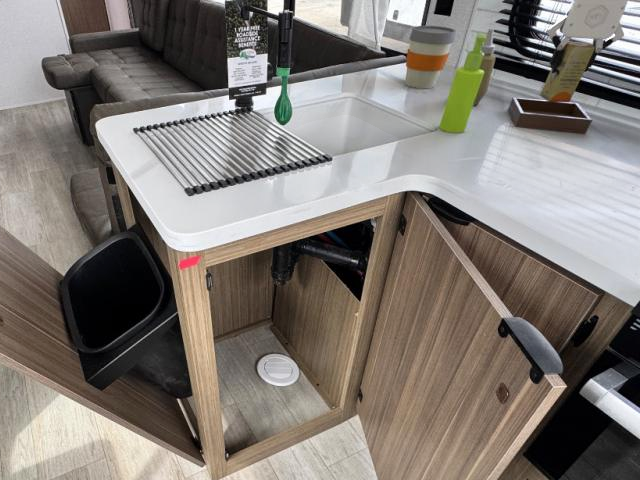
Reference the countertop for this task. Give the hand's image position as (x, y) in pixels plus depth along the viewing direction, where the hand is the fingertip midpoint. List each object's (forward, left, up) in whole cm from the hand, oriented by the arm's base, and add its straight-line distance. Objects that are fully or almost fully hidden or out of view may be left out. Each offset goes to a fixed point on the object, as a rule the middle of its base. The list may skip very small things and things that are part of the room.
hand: (568, 68), depth 104 cm
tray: (0, 0, -12) cm, 12 cm away
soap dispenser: (+23, +13, -13) cm, 29 cm away
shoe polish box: (0, 0, -7) cm, 7 cm away
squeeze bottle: (+18, -10, -13) cm, 24 cm away
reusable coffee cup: (+31, -25, -13) cm, 42 cm away
